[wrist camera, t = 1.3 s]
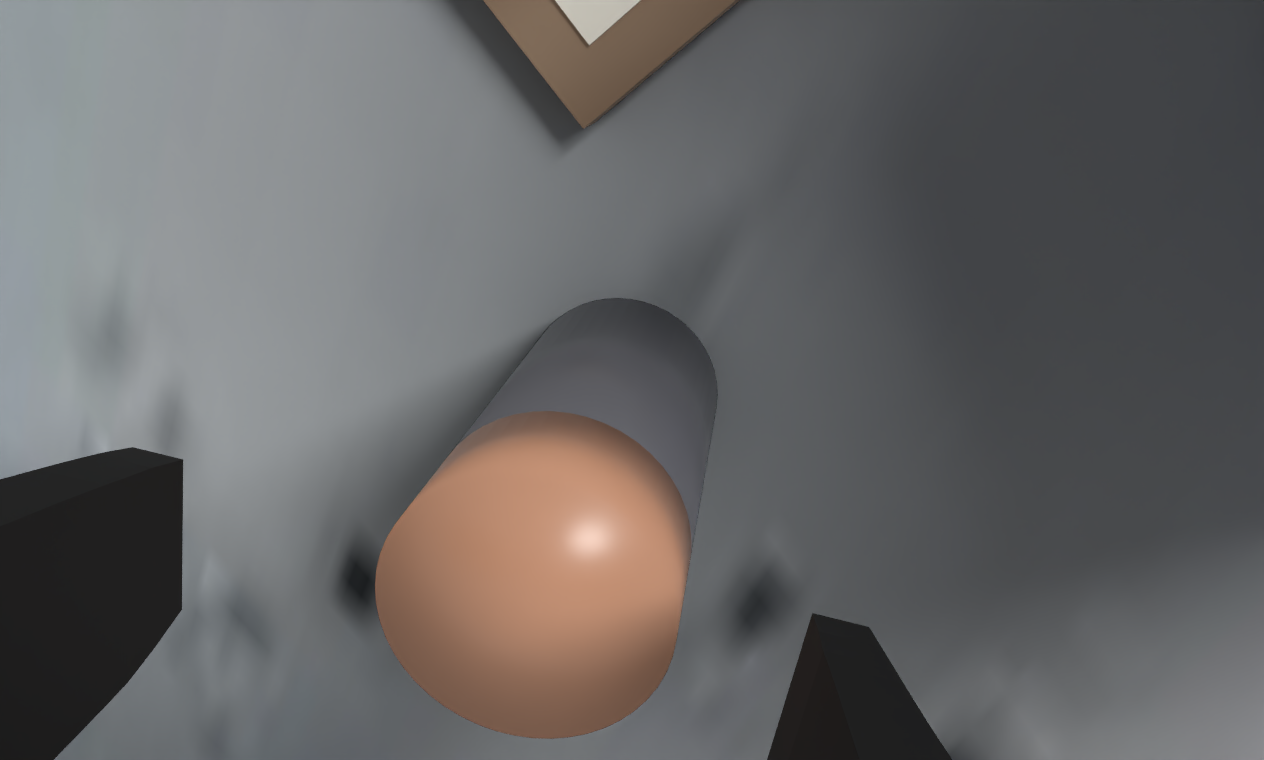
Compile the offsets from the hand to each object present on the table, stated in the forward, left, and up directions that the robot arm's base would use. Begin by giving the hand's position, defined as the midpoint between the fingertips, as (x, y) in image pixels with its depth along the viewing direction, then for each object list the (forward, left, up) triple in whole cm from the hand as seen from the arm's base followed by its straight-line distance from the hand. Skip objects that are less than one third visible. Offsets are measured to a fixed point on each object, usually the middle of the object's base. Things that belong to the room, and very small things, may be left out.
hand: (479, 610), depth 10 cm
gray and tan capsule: (-1, +1, -10) cm, 10 cm away
